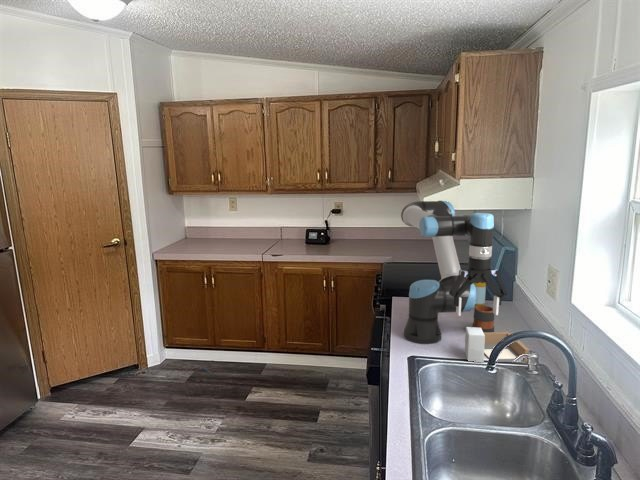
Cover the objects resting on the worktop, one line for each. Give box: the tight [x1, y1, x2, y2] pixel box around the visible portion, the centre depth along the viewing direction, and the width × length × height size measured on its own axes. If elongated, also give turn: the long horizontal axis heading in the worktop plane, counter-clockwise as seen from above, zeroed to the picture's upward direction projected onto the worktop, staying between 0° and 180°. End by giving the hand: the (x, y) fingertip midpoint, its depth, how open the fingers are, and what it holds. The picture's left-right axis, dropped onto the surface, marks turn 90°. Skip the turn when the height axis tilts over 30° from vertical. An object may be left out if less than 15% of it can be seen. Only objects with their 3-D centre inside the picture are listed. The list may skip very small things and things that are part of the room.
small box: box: [464, 326, 485, 364], centre depth 156 cm, size 8×6×10 cm
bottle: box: [473, 282, 487, 306], centre depth 215 cm, size 7×7×15 cm
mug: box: [471, 305, 495, 332], centre depth 178 cm, size 9×12×12 cm
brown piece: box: [483, 331, 530, 364], centre depth 160 cm, size 13×16×5 cm
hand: (476, 314), depth 154 cm, fingers open, 13 cm apart
